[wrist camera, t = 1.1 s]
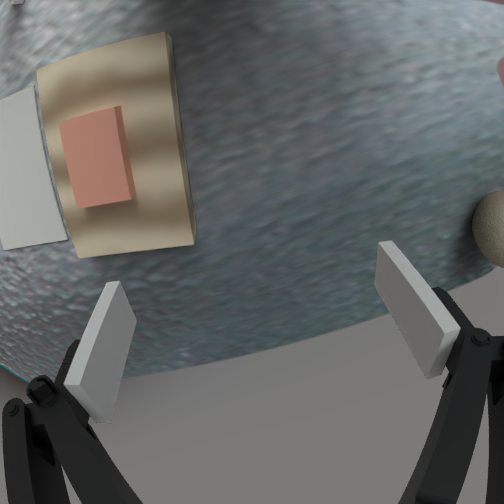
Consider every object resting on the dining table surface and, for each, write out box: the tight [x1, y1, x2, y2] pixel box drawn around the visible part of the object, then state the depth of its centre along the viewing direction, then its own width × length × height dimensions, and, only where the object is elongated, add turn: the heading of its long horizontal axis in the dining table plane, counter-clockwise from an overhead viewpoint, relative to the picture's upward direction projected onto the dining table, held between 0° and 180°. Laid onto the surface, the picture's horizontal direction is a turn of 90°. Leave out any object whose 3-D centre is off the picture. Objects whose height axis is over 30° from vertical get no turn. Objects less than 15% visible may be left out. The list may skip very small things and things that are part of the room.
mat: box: [0, 85, 68, 250], centre depth 31 cm, size 20×12×1 cm, turn 5°
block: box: [59, 106, 136, 209], centre depth 27 cm, size 9×6×2 cm, turn 5°
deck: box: [36, 31, 197, 258], centre depth 30 cm, size 22×14×4 cm, turn 5°
